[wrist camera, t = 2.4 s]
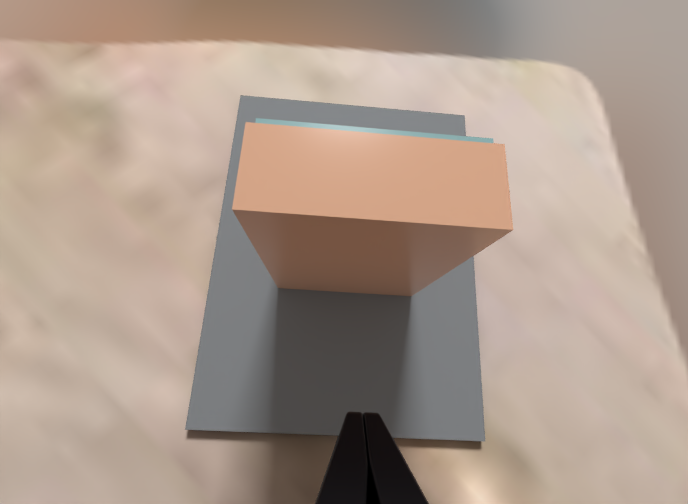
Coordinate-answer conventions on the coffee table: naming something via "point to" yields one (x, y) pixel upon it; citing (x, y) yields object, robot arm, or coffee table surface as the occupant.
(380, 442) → the robot arm
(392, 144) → the peach rectangular block
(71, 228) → the coffee table surface
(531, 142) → the coffee table surface
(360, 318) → the mat
